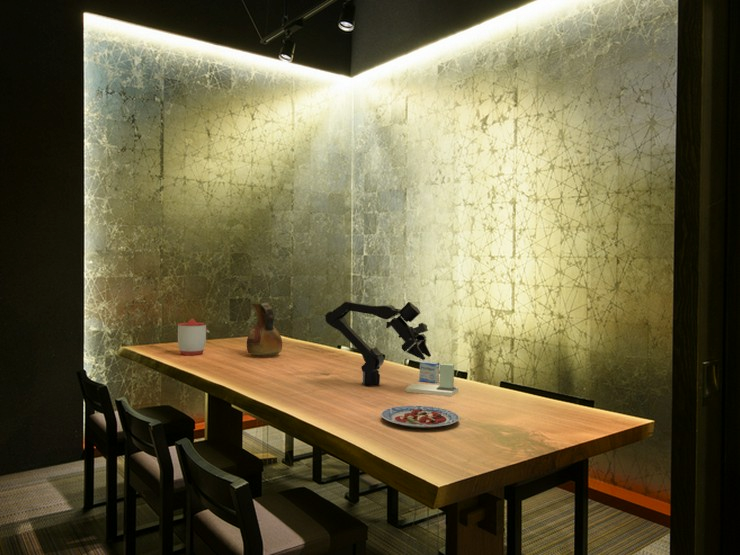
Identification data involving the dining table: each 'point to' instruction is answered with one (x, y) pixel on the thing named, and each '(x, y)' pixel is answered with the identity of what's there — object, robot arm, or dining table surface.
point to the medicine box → (429, 372)
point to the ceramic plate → (420, 416)
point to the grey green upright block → (446, 376)
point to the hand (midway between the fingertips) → (427, 357)
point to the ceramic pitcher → (264, 333)
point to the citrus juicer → (192, 337)
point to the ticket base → (431, 389)
